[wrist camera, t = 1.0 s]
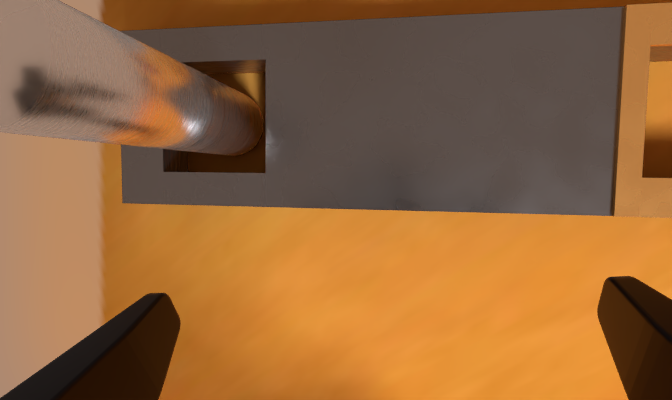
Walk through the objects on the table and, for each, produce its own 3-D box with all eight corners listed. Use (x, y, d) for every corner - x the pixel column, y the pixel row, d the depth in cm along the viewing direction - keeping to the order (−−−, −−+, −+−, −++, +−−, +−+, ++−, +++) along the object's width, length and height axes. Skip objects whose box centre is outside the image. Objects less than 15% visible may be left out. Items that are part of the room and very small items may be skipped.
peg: (251, 164, 23) (26, 152, 9) (195, 143, 23) (-98, 100, 10) (272, 104, 23) (69, -4, 9) (215, 83, 23) (-63, -51, 9)
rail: (150, 200, 24) (120, 203, 21) (147, 46, 23) (115, 29, 21) (794, 215, 19) (858, 222, 16) (812, 18, 18) (882, -8, 16)
